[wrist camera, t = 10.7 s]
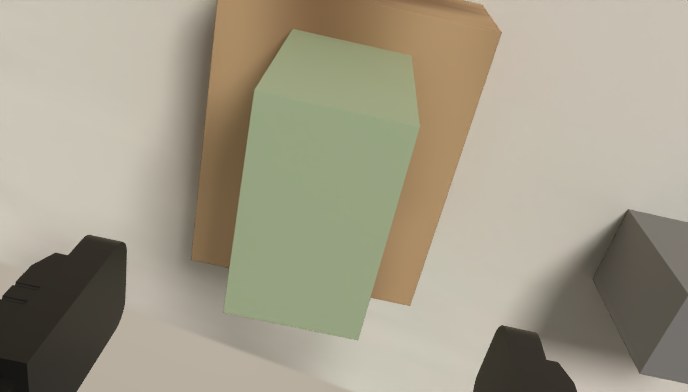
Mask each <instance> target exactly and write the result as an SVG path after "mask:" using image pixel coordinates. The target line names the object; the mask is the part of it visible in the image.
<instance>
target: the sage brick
mask: <svg viewBox="0 0 688 392" xmlns="http://www.w3.org/2000/svg"><path fill="white" fill-rule="evenodd" d="M419 128H420V123H419V114H418V106H417V97H416V89H415V80H414V72H413V63H412V56H411V55H407V54H402V53H398V52H393V51H389V50H384V49H380V48H376V47H371V46H367V45H362V44H358V43H353V42H349V41H345V40H340V39H336V38H331V37H327V36H322V35H318V34H313V33H309V32H305V31H300V30H296V29H292V31H291V32H290V34H289V35H288V37H287V39H286V40H285V42H284V43H283V45H282V47H281V48H280V50H279V51H278V53H277V55H276V56H275V58H274V59H273V61H272V63H271V64H270V66H269V67H268V69H267V71H266V72H265V74H264V75H263V77H262V79H261V80H260V82H259V83H258V85H257V87H256V88H255V90H254V96H253V103H252V110H251V117H250V124H249V132H248V139H247V146H246V153H245V160H244V167H243V175H242V182H241V189H240V196H239V203H238V210H237V218H236V225H235V232H234V239H233V246H232V253H231V261H230V268H229V275H228V282H227V289H226V296H225V304H224V311H223V313H228V314H233V315H238V316H242V317H247V318H252V319H257V320H262V321H267V322H271V323H276V324H281V325H286V326H291V327H296V328H301V329H305V330H310V331H315V332H320V333H325V334H330V335H334V336H339V337H344V338H349V339H354V340H358V339H359V335H360V332H361V328H362V325H363V322H364V318H365V315H366V311H367V308H368V304H369V301H370V297H371V294H372V291H373V287H374V284H375V280H376V277H377V273H378V270H379V266H380V263H381V259H382V256H383V253H384V249H385V246H386V242H387V239H388V235H389V232H390V228H391V225H392V221H393V218H394V215H395V211H396V208H397V204H398V201H399V197H400V194H401V190H402V187H403V184H404V180H405V177H406V173H407V170H408V166H409V163H410V159H411V156H412V152H413V149H414V146H415V142H416V139H417V135H418V132H419Z"/></svg>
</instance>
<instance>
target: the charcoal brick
mask: <svg viewBox="0 0 688 392" xmlns="http://www.w3.org/2000/svg"><path fill="white" fill-rule="evenodd" d="M593 281H594V283H595V285H596V287H597V289H598V291H599V293H600V295H601V297H602V299H603V301H604V303H605V305H606V307H607V309H608V311H609V313H610V315H611V317H612V319H613V321H614V323H615V325H616V327H617V329H618V331H619V333H620V335H621V337H622V339H623V341H624V343H625V345H626V347H627V349H628V351H629V353H630V355H631V357H632V359H633V361H634V363H635V365H636V367H637V369H638V371H639V374H643V375H648V376H653V377H658V378H662V379H667V380H672V381H677V382H681V383H686V384H688V222H683V221H679V220H674V219H670V218H665V217H661V216H656V215H652V214H647V213H643V212H638V211H634V210H629V209H628V211H627V213H626V215H625V217H624V219H623V221H622V223H621V225H620V227H619V229H618V231H617V233H616V235H615V236H614V238H613V240H612V242H611V244H610V246H609V248H608V250H607V252H606V254H605V256H604V258H603V260H602V262H601V264H600V266H599V268H598V270H597V271H596V273H595V275H594V277H593Z"/></svg>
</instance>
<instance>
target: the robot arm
mask: <svg viewBox="0 0 688 392" xmlns="http://www.w3.org/2000/svg"><path fill="white" fill-rule="evenodd" d="M126 259H127V248H126V244H125V243H124V242H120V241H115V240H111V239H106V238H102V237H97V236H92V235H87V236H85V237H84V238H83V239H82V240H81V241H80V242H79V244H78V245H77V246H76V247H75V248H74V249H73V250H72V252H71V253H70V254H69V255H63V254H59V253H54V254H52V255H50V256H48V257H46V258H45V259H43V260H41V261H39V262H37V263H35V264H33V265H31V266H30V267H29V269H28V270H27V271H26V272H25V273H24V274H23V275H22V276H21V277H20V278H19V279H18V280H17V281H16V284H15V286H14V285H12V287H10V289H9V290H8V291H7V292H6V293H5V294H4V295H3V297H2V300H0V392H77V390H78V388H79V387H80V385H81V384H82V382H83V381H84V379H85V377H86V376H87V374H88V373H89V371H90V370H91V368H92V366H93V365H94V363H95V362H96V360H97V358H98V357H99V355H100V354H101V352H102V350H103V349H104V347H105V346H106V344H107V343H108V341H109V339H110V338H111V336H112V334H113V333H114V331H115V330H116V328H117V326H118V324H119V322H120V319H121V316H122V313H123V310H124V305H125V291H126ZM473 392H577V390H576V387H575V384H574V382H573V381H572V380H571V378H570V377H569V376H568V374H567V373H566V372H565V371H564V369H563V368H562V367H561V365H560V364H559V363H558V362H554V361H549V360H546V357H545V354H544V351H543V347H542V344H541V341H540V338H539V336H538V334H537V333H535V332H530V331H526V330H521V329H517V328H512V327H507V326H503V325H502V326H500V327H499V328H498V329H497V331H496V333H495V335H494V337H493V340H492V342H491V344H490V347H489V349H488V351H487V354H486V356H485V358H484V361H483V363H482V365H481V368H480V370H479V372H478V375H477V377H476V381H475V385H474V390H473Z"/></svg>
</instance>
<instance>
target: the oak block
mask: <svg viewBox="0 0 688 392" xmlns="http://www.w3.org/2000/svg"><path fill="white" fill-rule="evenodd" d="M292 29H296V30H300V31H305V32H309V33H313V34H318V35H322V36H327V37H331V38H336V39H340V40H345V41H349V42H353V43H358V44H362V45H367V46H371V47H376V48H380V49H384V50H389V51H393V52H398V53H402V54H407V55H411V56H412V63H413V72H414V80H415V89H416V97H417V106H418V114H419V123H420V128H419V132H418V135H417V139H416V142H415V146H414V149H413V152H412V156H411V159H410V163H409V166H408V170H407V173H406V177H405V180H404V184H403V187H402V190H401V194H400V197H399V201H398V204H397V208H396V211H395V215H394V218H393V221H392V225H391V228H390V232H389V235H388V239H387V242H386V246H385V249H384V253H383V256H382V259H381V263H380V266H379V270H378V273H377V277H376V280H375V284H374V287H373V291H372V294H371V297H370V298H374V299H379V300H384V301H389V302H393V303H398V304H403V305H408V306H410V305H411V302H412V299H413V296H414V293H415V290H416V287H417V284H418V281H419V278H420V275H421V272H422V269H423V266H424V263H425V260H426V257H427V254H428V251H429V248H430V245H431V242H432V239H433V236H434V233H435V230H436V227H437V224H438V221H439V218H440V215H441V212H442V209H443V206H444V203H445V200H446V197H447V194H448V191H449V188H450V185H451V182H452V179H453V176H454V174H455V171H456V168H457V165H458V162H459V159H460V156H461V153H462V150H463V147H464V144H465V141H466V138H467V135H468V132H469V129H470V126H471V123H472V120H473V117H474V114H475V111H476V108H477V105H478V102H479V99H480V96H481V93H482V90H483V87H484V84H485V81H486V78H487V75H488V72H489V69H490V66H491V63H492V60H493V57H494V54H495V51H496V48H497V45H498V42H499V39H500V36H501V33H502V32H501V31H500V29H499V28H498V27H497V25H496V24H495V22H494V21H493V19H492V18H491V17H490V15H489V14H488V12H487V11H486V9H485V8H484V7H483V5H480V4H476V3H472V2H467V1H463V0H218V1H217V11H216V21H215V30H214V40H213V50H212V60H211V70H210V79H209V89H208V99H207V109H206V119H205V128H204V138H203V148H202V158H201V168H200V177H199V187H198V197H197V207H196V217H195V226H194V236H193V246H192V256H191V260H194V261H199V262H203V263H208V264H213V265H218V266H222V267H227V268H230V261H231V253H232V246H233V239H234V232H235V225H236V218H237V210H238V203H239V196H240V189H241V182H242V175H243V167H244V160H245V153H246V146H247V139H248V132H249V124H250V117H251V110H252V103H253V96H254V90H255V88H256V87H257V85H258V83H259V82H260V80H261V79H262V77H263V75H264V74H265V72H266V71H267V69H268V67H269V66H270V64H271V63H272V61H273V59H274V58H275V56H276V55H277V53H278V51H279V50H280V48H281V47H282V45H283V43H284V42H285V40H286V39H287V37H288V35H289V34H290V32H291V31H292Z"/></svg>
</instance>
